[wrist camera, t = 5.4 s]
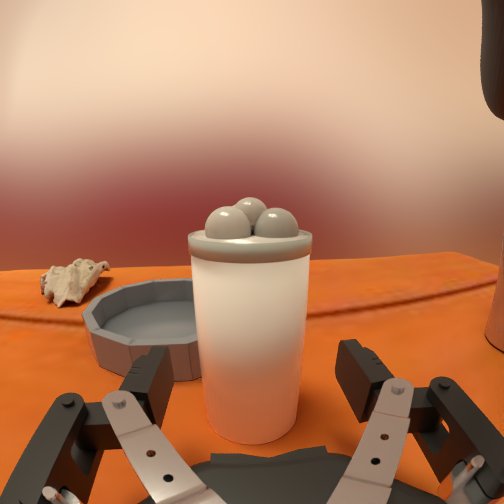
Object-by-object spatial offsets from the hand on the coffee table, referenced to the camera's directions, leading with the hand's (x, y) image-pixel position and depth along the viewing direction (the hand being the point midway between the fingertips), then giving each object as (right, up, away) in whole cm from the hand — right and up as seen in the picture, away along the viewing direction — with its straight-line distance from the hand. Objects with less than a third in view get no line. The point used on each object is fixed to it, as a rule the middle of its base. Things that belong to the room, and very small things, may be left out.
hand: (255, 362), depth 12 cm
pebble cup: (0, -6, +4) cm, 7 cm away
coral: (-30, -2, +28) cm, 41 cm away
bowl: (-9, -3, +16) cm, 18 cm away
